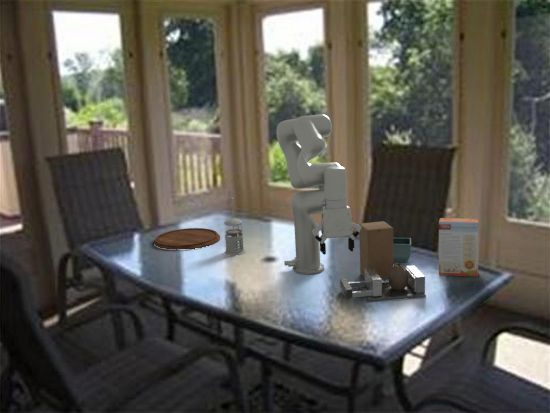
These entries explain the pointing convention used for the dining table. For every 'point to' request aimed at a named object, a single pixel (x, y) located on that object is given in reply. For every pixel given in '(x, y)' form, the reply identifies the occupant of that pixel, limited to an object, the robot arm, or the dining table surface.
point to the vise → (411, 291)
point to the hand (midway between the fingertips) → (337, 251)
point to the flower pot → (401, 250)
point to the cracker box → (458, 247)
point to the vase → (398, 277)
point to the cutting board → (187, 238)
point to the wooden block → (376, 248)
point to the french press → (234, 237)
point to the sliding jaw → (370, 281)
